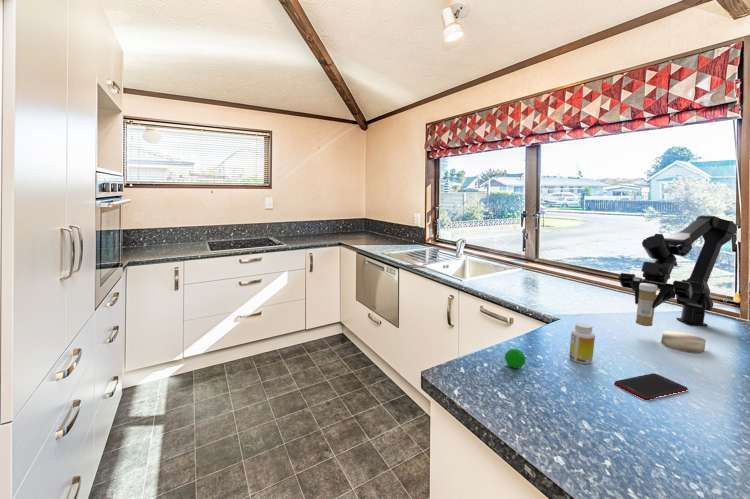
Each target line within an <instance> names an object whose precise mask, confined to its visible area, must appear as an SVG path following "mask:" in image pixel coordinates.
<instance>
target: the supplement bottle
mask: <svg viewBox="0 0 750 499" xmlns="http://www.w3.org/2000/svg"><path fill="white" fill-rule="evenodd" d="M570 333H571V334H570V344H569V354H568V356H569V359H570V360H572V361H573V362H575V363H577V364H581V365H582V364H583V365H589V364H591V363H592V362H593V357H594V348H595V340H596V335H595V333H594V332H593V326H592V325H591V324H589V323H585V322H576V323H575V327H574V328H573V329H572V330H571V332H570Z"/></svg>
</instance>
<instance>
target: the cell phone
mask: <svg viewBox="0 0 750 499" xmlns="http://www.w3.org/2000/svg"><path fill="white" fill-rule="evenodd" d="M614 386H615V387H618V388H620V389H621V390H623V391H625V392H626V393H629V394H631V395H633V394H634V395H633V396H635V395H636V396H638V397H640V398H642V399H644V400H643V401H645V400H649V401H651V400H650V399H654V398H656V397H659V396H664V395H669V394H673V393H678V392H682V391H686V390H689V388H688V387H687V386H685V385H683V384H680V383H678V382H677V381H674V380H672V379H669V378H667V377H665V376H662V375H661V374H657V373H647V374H642V375H638V376H634V377H628V378H624V379H623V378H622V379H619V380H615V381H614ZM686 392H687V391H686ZM682 393H683V392H682ZM678 394H679V393H678ZM636 396H635V397H636ZM638 397H637V398H638ZM640 398H639V399H640ZM642 399H641V400H642ZM656 399H657V398H656ZM654 400H655V399H654Z"/></svg>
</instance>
